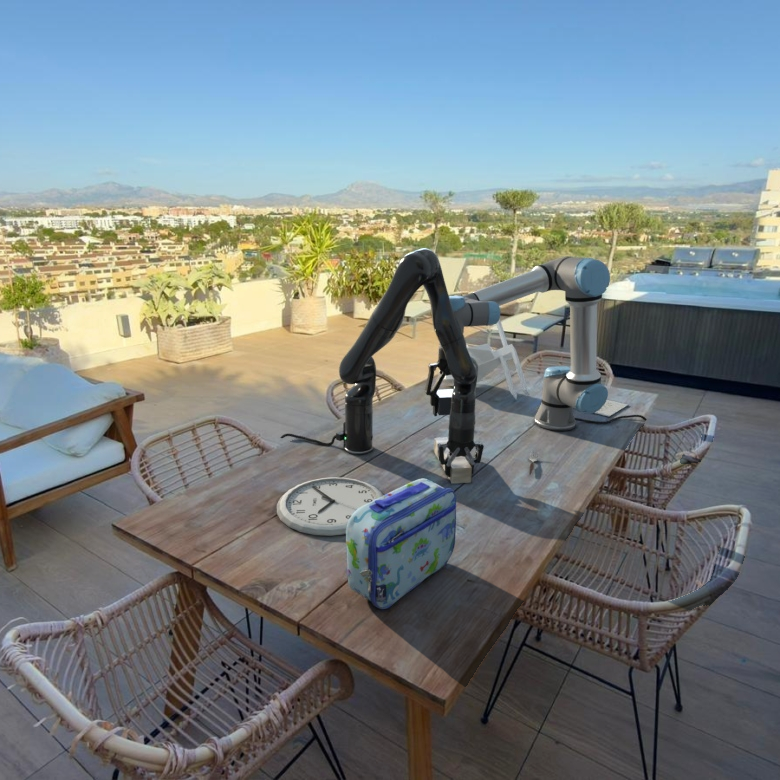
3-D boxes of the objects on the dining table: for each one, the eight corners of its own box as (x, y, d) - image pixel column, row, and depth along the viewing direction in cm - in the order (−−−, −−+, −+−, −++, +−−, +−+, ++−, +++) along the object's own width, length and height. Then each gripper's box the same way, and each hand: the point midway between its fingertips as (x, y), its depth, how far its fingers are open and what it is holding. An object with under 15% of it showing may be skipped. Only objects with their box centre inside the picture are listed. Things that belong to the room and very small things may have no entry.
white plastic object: (461, 429, 252) (437, 405, 227) (444, 352, 274) (420, 323, 250) (535, 404, 240) (518, 377, 215) (510, 326, 262) (492, 293, 237)
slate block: (433, 407, 174) (433, 389, 172) (456, 406, 175) (457, 389, 173) (438, 415, 166) (439, 397, 165) (463, 414, 167) (464, 396, 166)
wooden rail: (433, 451, 179) (434, 437, 177) (450, 450, 180) (451, 436, 178) (451, 483, 156) (452, 468, 155) (470, 482, 157) (472, 467, 155)
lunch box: (375, 622, 100) (376, 527, 94) (339, 595, 108) (338, 505, 101) (459, 565, 118) (465, 481, 112) (424, 545, 125) (427, 465, 119)
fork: (525, 475, 162) (525, 469, 161) (530, 455, 176) (531, 449, 176) (534, 476, 161) (534, 470, 161) (538, 456, 175) (539, 450, 175)
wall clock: (392, 527, 129) (268, 531, 127) (391, 533, 130) (269, 537, 127) (383, 473, 158) (282, 475, 155) (383, 478, 158) (282, 480, 156)
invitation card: (608, 416, 214) (573, 407, 224) (608, 416, 214) (573, 408, 224) (628, 404, 229) (594, 396, 238) (628, 405, 229) (594, 397, 238)
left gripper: (481, 418, 158) (477, 469, 163) (435, 420, 156) (432, 471, 161) (489, 427, 151) (485, 480, 156) (441, 429, 149) (438, 482, 154)
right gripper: (479, 342, 169) (475, 409, 176) (415, 344, 166) (414, 411, 173) (486, 348, 162) (482, 416, 169) (420, 349, 159) (418, 419, 166)
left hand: (458, 475), depth 159 cm, fingers closed on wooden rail, 6 cm apart
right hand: (447, 414), depth 171 cm, fingers closed on slate block, 8 cm apart
